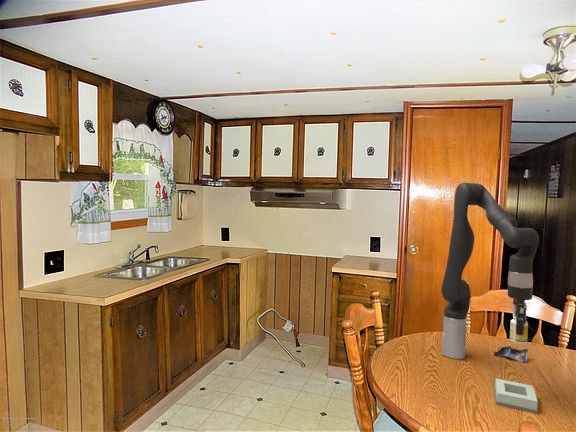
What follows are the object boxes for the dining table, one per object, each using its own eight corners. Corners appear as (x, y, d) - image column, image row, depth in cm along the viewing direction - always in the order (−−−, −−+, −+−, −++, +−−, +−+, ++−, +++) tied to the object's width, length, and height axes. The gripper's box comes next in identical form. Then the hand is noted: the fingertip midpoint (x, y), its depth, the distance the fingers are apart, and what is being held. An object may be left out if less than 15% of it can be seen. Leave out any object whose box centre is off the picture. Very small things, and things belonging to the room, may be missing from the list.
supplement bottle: (506, 340, 139) (507, 313, 139) (515, 337, 142) (516, 311, 141) (521, 345, 134) (522, 317, 134) (530, 342, 137) (531, 315, 136)
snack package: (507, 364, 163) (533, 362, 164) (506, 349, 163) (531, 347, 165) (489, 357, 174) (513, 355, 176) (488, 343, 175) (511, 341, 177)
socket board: (496, 404, 131) (496, 393, 131) (493, 382, 146) (494, 372, 146) (538, 413, 126) (538, 401, 126) (531, 389, 141) (531, 379, 141)
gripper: (506, 279, 145) (504, 324, 146) (510, 287, 132) (508, 336, 133) (529, 281, 142) (527, 327, 143) (535, 289, 129) (534, 340, 130)
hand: (518, 331), depth 138 cm, fingers closed on supplement bottle, 5 cm apart
